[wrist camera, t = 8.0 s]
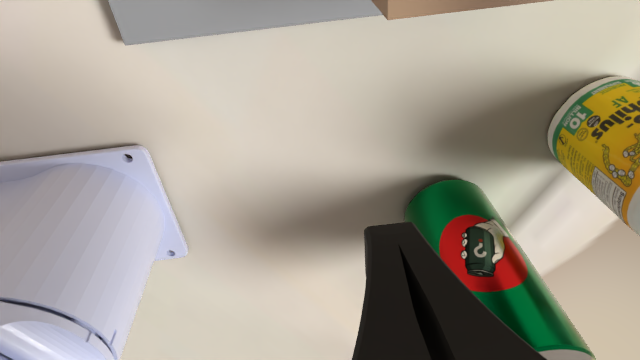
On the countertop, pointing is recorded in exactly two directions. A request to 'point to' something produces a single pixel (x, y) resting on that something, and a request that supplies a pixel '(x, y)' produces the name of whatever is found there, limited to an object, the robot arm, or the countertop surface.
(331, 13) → the base plate
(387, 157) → the countertop surface
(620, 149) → the supplement bottle
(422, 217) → the soda can
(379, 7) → the bearing block
